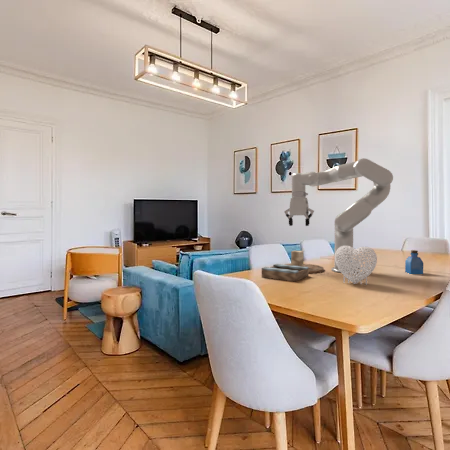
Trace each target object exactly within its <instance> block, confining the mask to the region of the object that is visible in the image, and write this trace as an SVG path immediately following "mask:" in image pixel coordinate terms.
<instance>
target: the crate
mask: <svg viewBox="0 0 450 450" xmlns="http://www.w3.org/2000/svg"><path fill="white" fill-rule="evenodd" d="M308 271H309V267H303V266H293V265H284V264H283V263H282V264H281V263H275V264H273V265H272V266H270V267H269V266H264V267H262V268H261V278H264V277H266V279H271V278H273V280H279V279H280V281H286V280H287V281H288V282H293V281H294V282H297V281H300V280H302V279H304V278H307V277H309V274H308Z"/></svg>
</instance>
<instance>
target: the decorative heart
mask: <svg viewBox="0 0 450 450" xmlns="http://www.w3.org/2000/svg"><path fill="white" fill-rule="evenodd" d="M349 250H350V251H349ZM352 250H353V251H352ZM344 251H345V252H344ZM347 251H348V252H347ZM349 252H350V253H349ZM352 252H353V253H352ZM343 253H344V254H343ZM345 254H346V256H345ZM348 254H349V256H348ZM339 256H340V257H339ZM348 257H349V259H348ZM340 258H341V259H340ZM334 260H335V262H336V265H337V267H338V269H339V270H340V272H339V273H341V274H342V275H343V277H342V278H343V281H342V282H343V283H344V284H345V282H346V279H347V283H348V284H350V282H351V283H352V284H353V285H356V284H357V285H358V283H360V285H362V284H363V282H362V281H363V280H365V285H366V286H367V285H368V277H369V276H370V275H371V274H372V273H373V271H374V270H375V268H376V266H377V263H378V256H377V253H376V252H375V250H374V249H373V248H371V247H369V246H360V247H358V248H354V246H353V247H350V246H341V247H339V248H338V249H337V251H336V253H335V252H334ZM346 260H347V261H346ZM351 260H352V262H351ZM341 264H342V265H343V266H342V265H341ZM339 265H340V266H339ZM341 267H342V268H341ZM357 267H358V268H359V269H358V268H357ZM343 268H344V269H343ZM354 271H355V272H354Z"/></svg>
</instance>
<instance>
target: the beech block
mask: <svg viewBox="0 0 450 450" xmlns="http://www.w3.org/2000/svg"><path fill="white" fill-rule="evenodd" d="M290 253H291V254H290V255H291V256H290V257H291V259H290V264H291V265H293V266H303V264H304V250H292V251H291V252H290Z"/></svg>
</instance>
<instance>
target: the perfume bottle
mask: <svg viewBox="0 0 450 450" xmlns="http://www.w3.org/2000/svg"><path fill="white" fill-rule="evenodd" d="M418 252H419V251H418V250H415V249H414V250H413V249H411V250H410V255H409V256H407V258H406V259H405V260H404V261H405V265H404V271H405V272H404V273H406V272H407V273H406V274H408V273H409V274H408V275H410V274H423V275H424V262H423V260H422V258H421V257H419V253H418Z"/></svg>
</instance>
